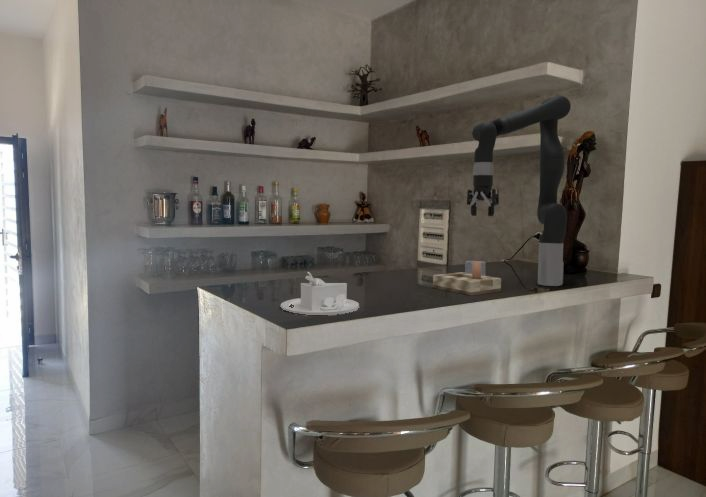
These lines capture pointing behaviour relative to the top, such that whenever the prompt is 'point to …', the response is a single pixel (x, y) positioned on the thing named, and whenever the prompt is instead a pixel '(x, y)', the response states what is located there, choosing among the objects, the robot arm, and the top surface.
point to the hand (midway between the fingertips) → (482, 216)
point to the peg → (476, 270)
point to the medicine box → (469, 267)
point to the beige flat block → (466, 283)
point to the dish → (321, 299)
